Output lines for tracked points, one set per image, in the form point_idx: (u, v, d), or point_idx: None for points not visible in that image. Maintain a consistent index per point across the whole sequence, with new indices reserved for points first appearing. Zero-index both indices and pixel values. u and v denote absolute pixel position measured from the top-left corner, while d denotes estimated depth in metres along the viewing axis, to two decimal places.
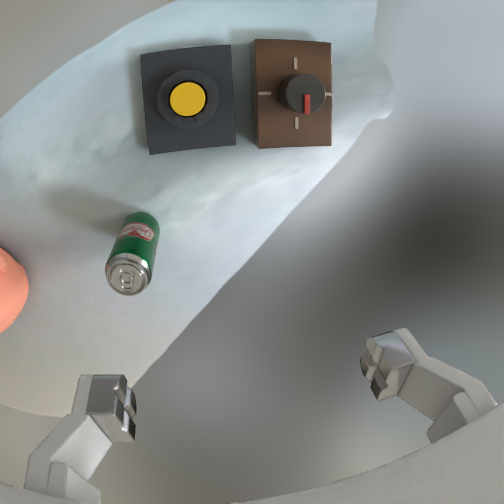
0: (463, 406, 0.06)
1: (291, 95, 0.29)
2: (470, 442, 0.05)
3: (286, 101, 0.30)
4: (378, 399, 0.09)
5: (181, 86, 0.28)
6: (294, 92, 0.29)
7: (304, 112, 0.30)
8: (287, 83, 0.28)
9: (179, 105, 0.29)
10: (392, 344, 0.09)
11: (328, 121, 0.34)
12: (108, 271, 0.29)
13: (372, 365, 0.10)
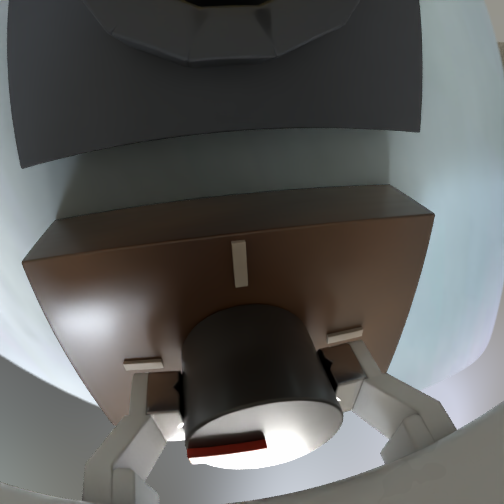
0: (414, 430, 0.06)
1: (259, 416, 0.07)
2: (470, 442, 0.05)
3: (226, 396, 0.07)
4: None
5: None
6: (272, 420, 0.07)
7: (192, 452, 0.07)
8: (309, 387, 0.07)
9: None
10: (342, 357, 0.09)
11: None
12: None
13: None
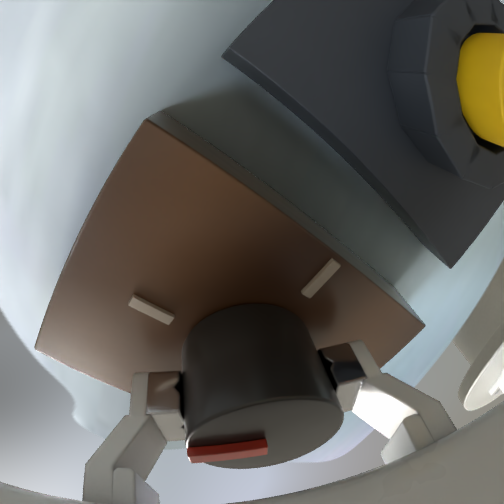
0: (415, 430, 0.06)
1: (261, 415, 0.07)
2: (470, 442, 0.05)
3: (228, 394, 0.07)
4: None
5: None
6: (274, 419, 0.07)
7: (192, 451, 0.07)
8: (311, 386, 0.07)
9: None
10: (343, 357, 0.09)
11: (109, 378, 0.10)
12: None
13: None
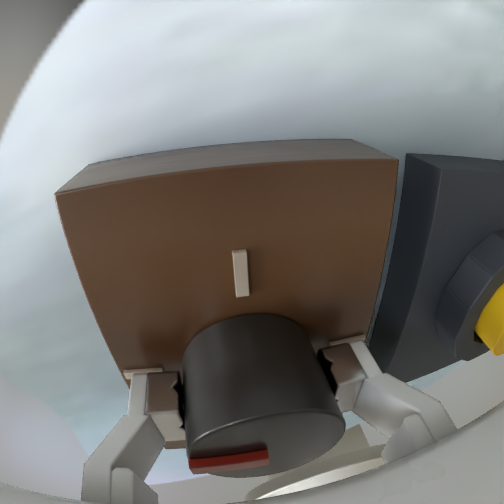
0: (415, 430, 0.06)
1: (261, 428, 0.06)
2: (470, 442, 0.05)
3: (227, 408, 0.06)
4: None
5: None
6: (274, 431, 0.07)
7: (194, 463, 0.07)
8: (311, 398, 0.07)
9: None
10: (343, 357, 0.09)
11: (99, 294, 0.08)
12: None
13: None
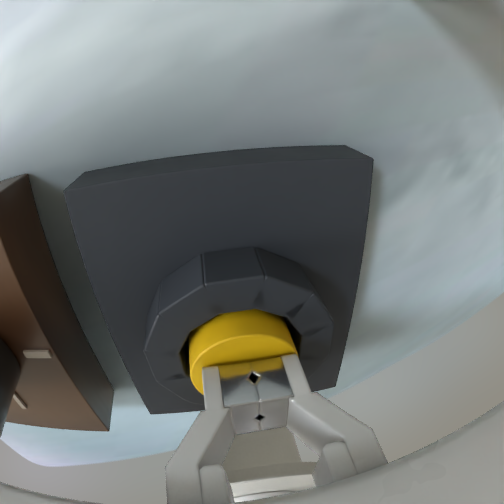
0: (336, 459, 0.06)
1: None
2: (470, 442, 0.05)
3: None
4: (260, 428, 0.08)
5: None
6: None
7: None
8: None
9: None
10: (271, 372, 0.09)
11: None
12: None
13: None
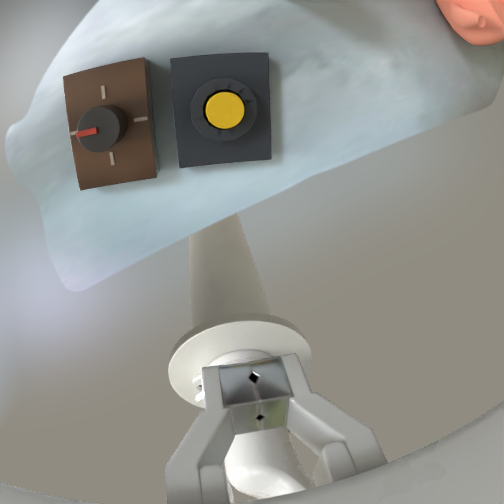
0: (336, 459, 0.06)
1: (93, 113, 0.24)
2: (470, 442, 0.05)
3: (88, 110, 0.24)
4: (260, 428, 0.08)
5: (231, 124, 0.28)
6: (97, 116, 0.24)
7: (77, 131, 0.24)
8: (107, 107, 0.24)
9: (234, 104, 0.27)
10: (271, 372, 0.09)
11: (69, 102, 0.25)
12: None
13: None
